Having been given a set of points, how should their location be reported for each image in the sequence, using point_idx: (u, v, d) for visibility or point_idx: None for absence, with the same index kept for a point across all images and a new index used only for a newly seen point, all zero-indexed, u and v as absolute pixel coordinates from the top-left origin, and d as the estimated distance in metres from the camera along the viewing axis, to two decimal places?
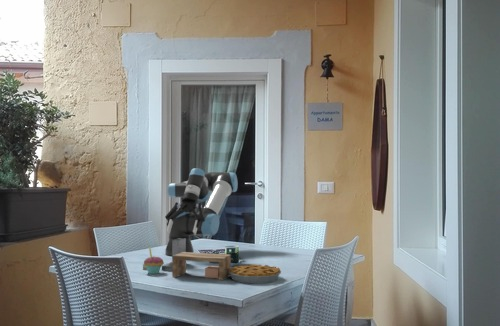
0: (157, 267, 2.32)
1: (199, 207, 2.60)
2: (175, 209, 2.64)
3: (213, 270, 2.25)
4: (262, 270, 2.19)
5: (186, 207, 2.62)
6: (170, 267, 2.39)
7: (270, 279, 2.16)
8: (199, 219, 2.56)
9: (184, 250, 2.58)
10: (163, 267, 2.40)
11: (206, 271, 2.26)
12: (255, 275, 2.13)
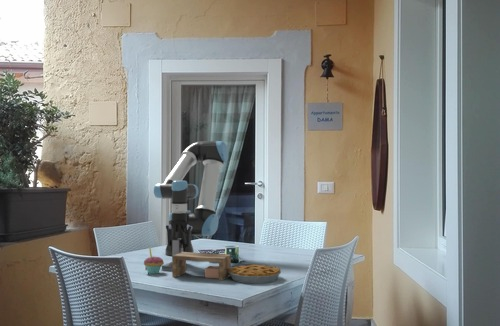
0: (157, 267, 2.32)
1: (188, 231, 2.54)
2: (170, 232, 2.58)
3: (213, 270, 2.25)
4: (262, 270, 2.19)
5: (177, 228, 2.55)
6: (170, 267, 2.39)
7: (270, 279, 2.16)
8: (184, 247, 2.54)
9: None
10: (163, 267, 2.40)
11: (206, 271, 2.25)
12: (255, 275, 2.13)
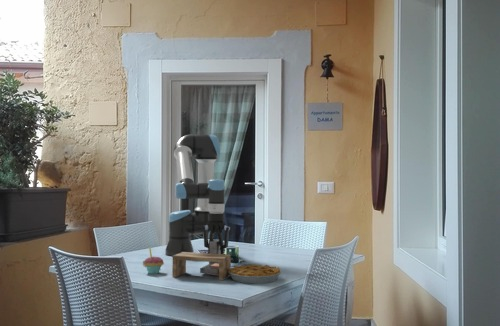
0: (157, 267, 2.32)
1: (226, 232, 2.44)
2: (206, 232, 2.48)
3: (218, 267, 2.30)
4: (262, 270, 2.19)
5: (214, 229, 2.46)
6: (209, 269, 2.29)
7: (270, 279, 2.16)
8: (221, 249, 2.45)
9: None
10: (202, 269, 2.30)
11: None
12: (255, 275, 2.13)
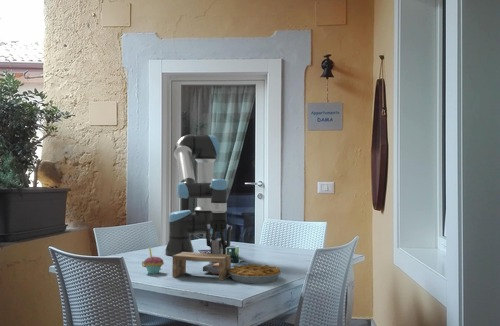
0: (157, 267, 2.32)
1: (228, 231, 2.47)
2: (209, 232, 2.51)
3: None
4: (262, 270, 2.19)
5: (217, 228, 2.49)
6: (212, 268, 2.32)
7: (270, 279, 2.16)
8: (224, 248, 2.47)
9: None
10: (204, 268, 2.33)
11: None
12: (255, 275, 2.13)
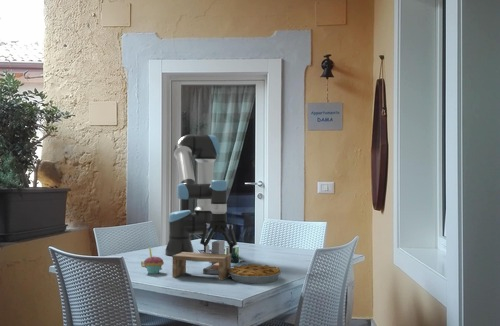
0: (157, 267, 2.32)
1: (230, 230, 2.47)
2: (206, 231, 2.51)
3: None
4: (262, 270, 2.19)
5: (217, 229, 2.49)
6: (212, 270, 2.32)
7: (270, 279, 2.16)
8: (231, 246, 2.46)
9: (223, 252, 2.51)
10: (204, 270, 2.33)
11: (213, 267, 2.34)
12: (255, 275, 2.13)
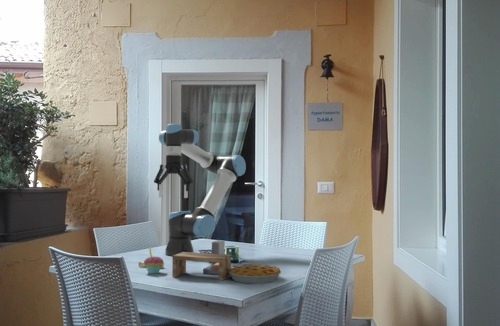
0: (157, 267, 2.32)
1: (184, 170, 2.61)
2: (161, 171, 2.66)
3: None
4: (262, 270, 2.19)
5: (172, 170, 2.63)
6: (212, 270, 2.32)
7: (270, 279, 2.16)
8: (187, 184, 2.60)
9: (223, 252, 2.51)
10: (204, 270, 2.33)
11: (213, 267, 2.34)
12: (255, 275, 2.13)
